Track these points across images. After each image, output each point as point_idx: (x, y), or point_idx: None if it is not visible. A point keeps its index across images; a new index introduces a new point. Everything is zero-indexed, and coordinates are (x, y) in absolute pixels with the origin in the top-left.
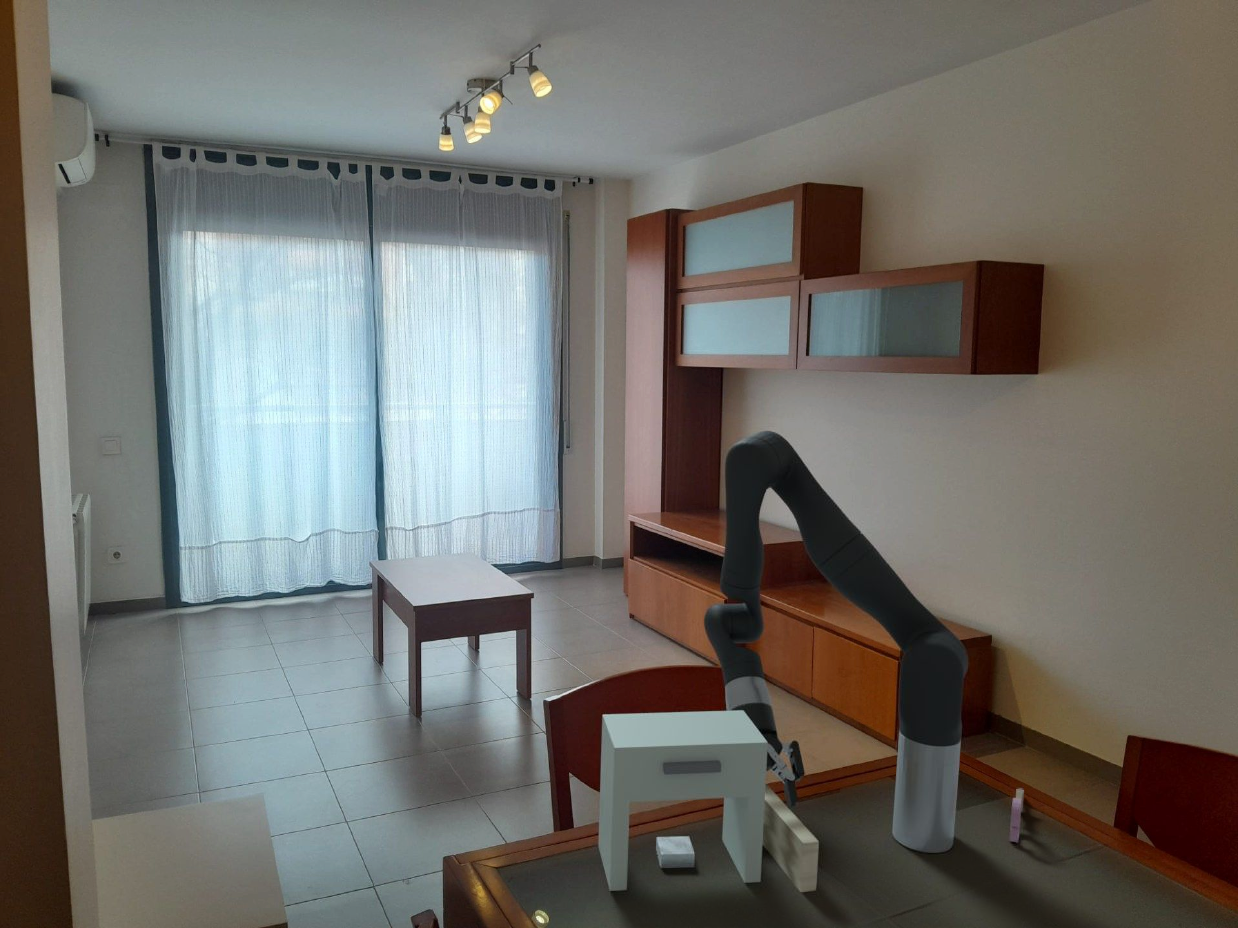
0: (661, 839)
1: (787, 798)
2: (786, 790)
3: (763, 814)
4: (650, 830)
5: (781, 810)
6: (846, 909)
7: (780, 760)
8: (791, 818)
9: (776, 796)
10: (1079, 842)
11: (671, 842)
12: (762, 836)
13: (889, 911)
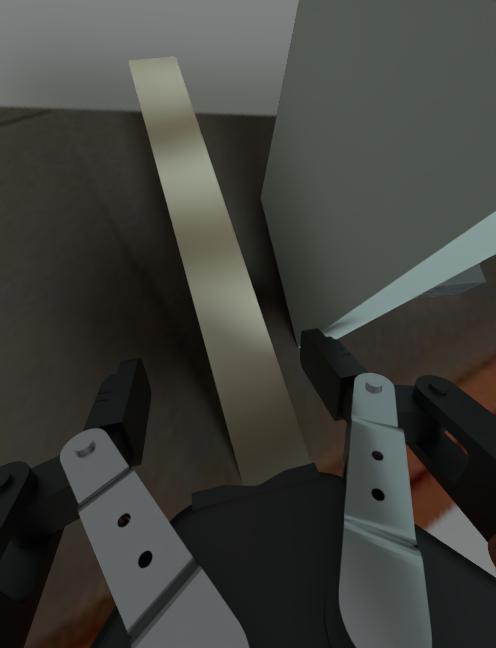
0: (473, 272)
1: (143, 402)
2: (137, 420)
3: (297, 15)
4: (489, 370)
5: (202, 212)
6: (121, 129)
7: (112, 524)
8: (178, 165)
9: (201, 310)
10: None
11: None
12: (279, 103)
13: (42, 122)
